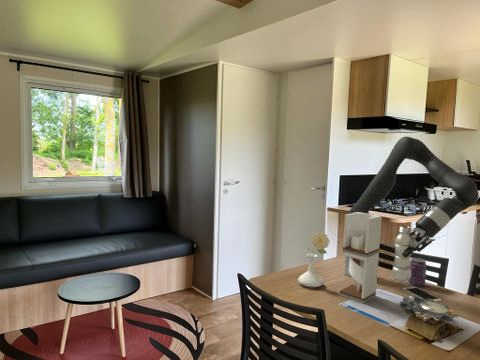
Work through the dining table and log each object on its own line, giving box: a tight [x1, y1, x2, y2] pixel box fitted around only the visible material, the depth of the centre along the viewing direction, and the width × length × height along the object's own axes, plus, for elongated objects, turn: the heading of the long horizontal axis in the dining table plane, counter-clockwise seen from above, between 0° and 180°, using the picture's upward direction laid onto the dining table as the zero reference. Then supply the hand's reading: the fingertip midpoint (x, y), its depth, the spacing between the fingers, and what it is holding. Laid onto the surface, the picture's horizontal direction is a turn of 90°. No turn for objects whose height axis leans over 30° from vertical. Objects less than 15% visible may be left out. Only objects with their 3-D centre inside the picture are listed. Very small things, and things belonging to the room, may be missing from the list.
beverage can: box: [407, 257, 428, 287], centre depth 166 cm, size 7×7×12 cm
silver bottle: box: [391, 225, 412, 282], centre depth 129 cm, size 6×7×20 cm
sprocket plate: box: [399, 295, 455, 322], centre depth 139 cm, size 19×18×4 cm
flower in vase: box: [297, 231, 331, 288], centre depth 159 cm, size 13×11×25 cm
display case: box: [339, 212, 383, 304], centre depth 149 cm, size 11×11×35 cm
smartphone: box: [402, 286, 442, 303], centre depth 155 cm, size 8×1×15 cm
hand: (398, 252), depth 129 cm, fingers closed on silver bottle, 6 cm apart
